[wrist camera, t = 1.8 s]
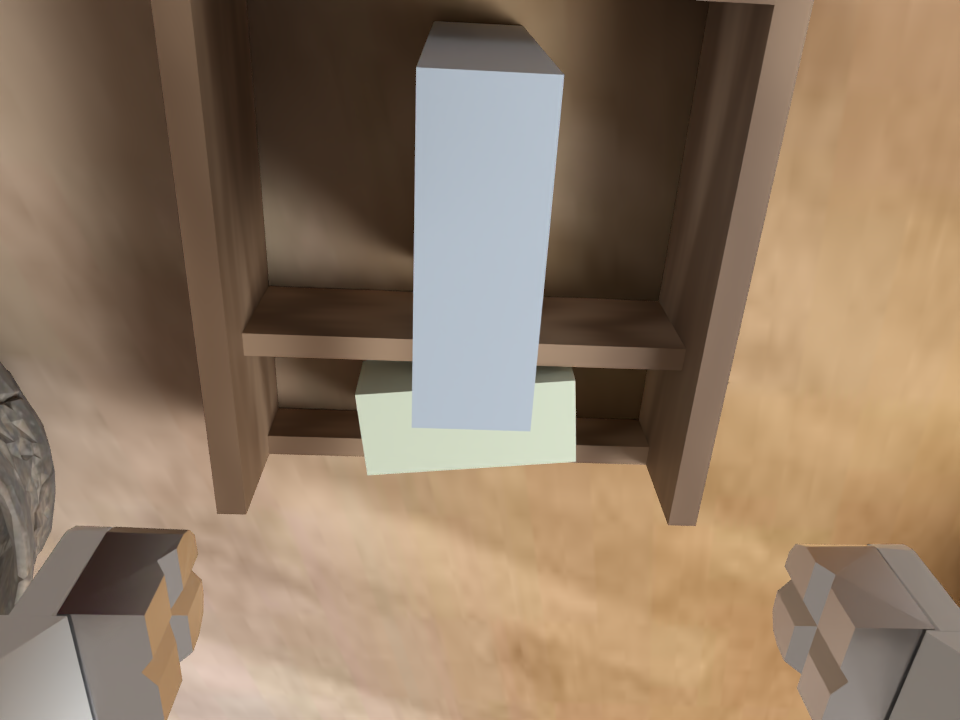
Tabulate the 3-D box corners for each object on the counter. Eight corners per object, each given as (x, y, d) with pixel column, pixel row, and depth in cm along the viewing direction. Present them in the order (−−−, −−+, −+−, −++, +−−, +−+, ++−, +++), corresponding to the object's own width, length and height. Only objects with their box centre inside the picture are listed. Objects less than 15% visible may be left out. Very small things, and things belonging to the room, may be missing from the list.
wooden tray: (746, -33, 30) (820, -29, 24) (659, 437, 40) (695, 525, 34) (209, -64, 29) (141, -68, 23) (255, 424, 39) (217, 513, 33)
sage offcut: (566, 347, 34) (575, 380, 32) (567, 424, 36) (575, 461, 34) (362, 360, 35) (354, 395, 32) (374, 437, 36) (367, 475, 34)
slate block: (522, 25, 31) (564, 74, 19) (505, 264, 36) (530, 431, 23) (433, 20, 31) (416, 67, 18) (428, 261, 35) (411, 427, 23)
